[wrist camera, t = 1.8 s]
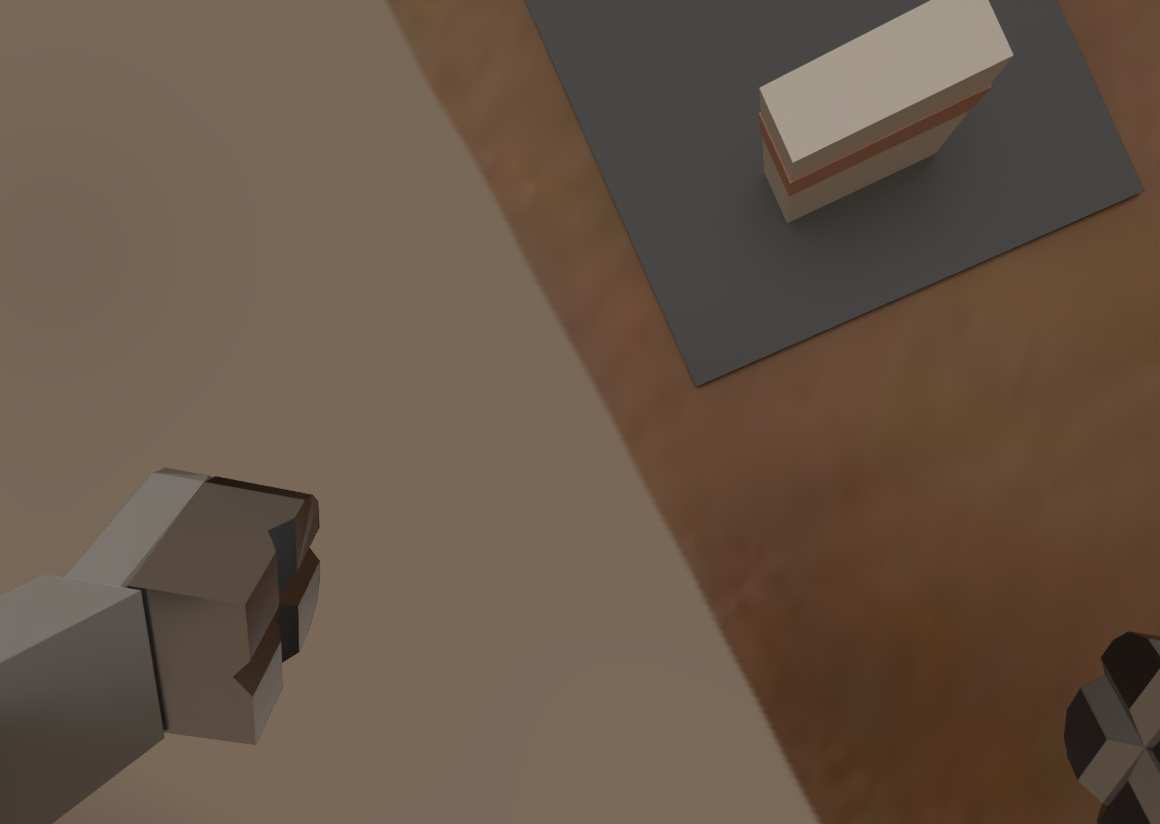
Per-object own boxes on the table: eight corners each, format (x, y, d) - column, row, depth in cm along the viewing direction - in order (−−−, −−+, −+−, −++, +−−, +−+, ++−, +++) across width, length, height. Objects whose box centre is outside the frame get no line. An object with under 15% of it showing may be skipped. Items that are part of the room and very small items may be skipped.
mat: (910, -302, 35) (912, -313, 35) (1138, 193, 35) (1144, 190, 34) (500, -59, 40) (496, -65, 39) (697, 386, 39) (696, 386, 38)
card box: (911, 98, 36) (978, -27, 24) (936, 154, 36) (1016, 56, 24) (762, 171, 37) (757, 87, 25) (786, 224, 37) (792, 164, 25)
